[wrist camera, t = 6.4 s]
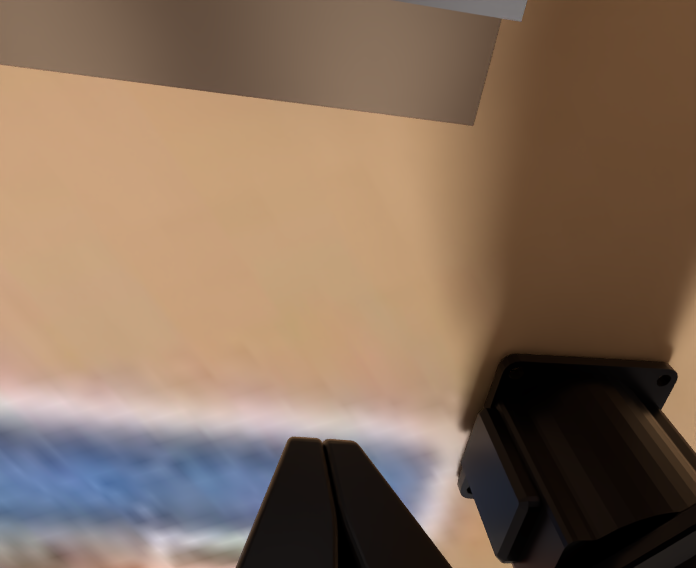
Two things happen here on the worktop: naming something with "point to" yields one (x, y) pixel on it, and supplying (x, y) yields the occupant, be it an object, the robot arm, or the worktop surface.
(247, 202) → the worktop surface
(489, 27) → the button panel
